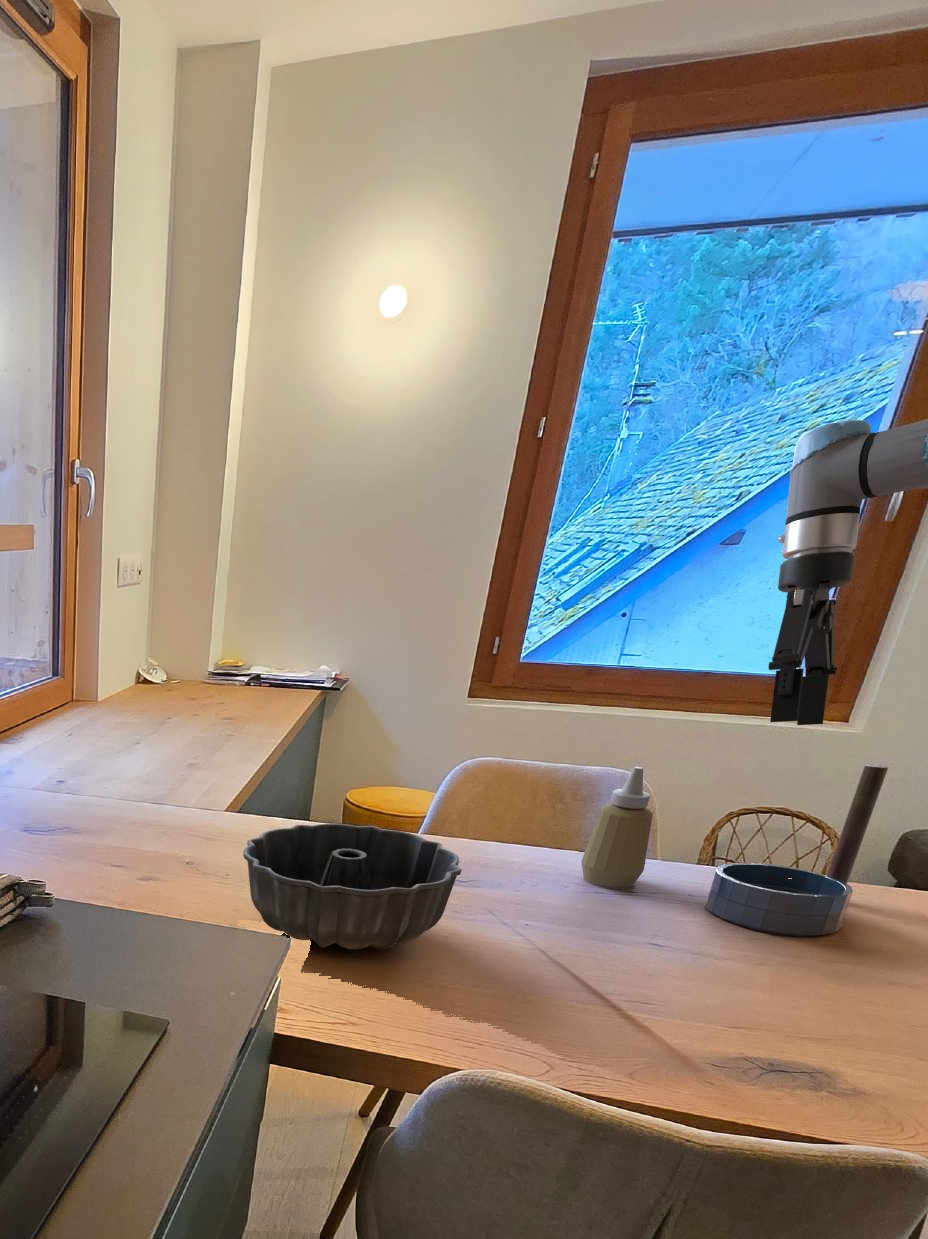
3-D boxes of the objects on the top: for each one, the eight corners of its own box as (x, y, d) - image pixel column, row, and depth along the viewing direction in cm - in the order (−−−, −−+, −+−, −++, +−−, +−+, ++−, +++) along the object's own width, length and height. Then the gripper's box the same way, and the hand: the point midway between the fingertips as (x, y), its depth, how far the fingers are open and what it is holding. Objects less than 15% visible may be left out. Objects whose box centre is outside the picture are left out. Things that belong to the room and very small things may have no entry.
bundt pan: (195, 918, 128) (200, 847, 124) (321, 874, 142) (329, 809, 138) (362, 989, 109) (375, 908, 105) (489, 931, 123) (504, 857, 119)
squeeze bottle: (578, 893, 139) (609, 772, 132) (572, 875, 146) (602, 758, 138) (642, 900, 137) (677, 777, 129) (633, 881, 143) (666, 763, 136)
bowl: (866, 940, 122) (882, 896, 120) (754, 941, 122) (768, 896, 120) (781, 903, 136) (794, 862, 133) (679, 903, 135) (691, 862, 133)
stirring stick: (858, 914, 131) (911, 769, 124) (823, 914, 131) (873, 769, 124) (829, 902, 136) (879, 762, 128) (795, 902, 136) (842, 762, 128)
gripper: (805, 573, 135) (787, 727, 139) (755, 548, 120) (735, 722, 123) (874, 563, 130) (853, 724, 133) (831, 535, 114) (809, 718, 118)
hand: (797, 723), depth 128 cm, fingers open, 13 cm apart
